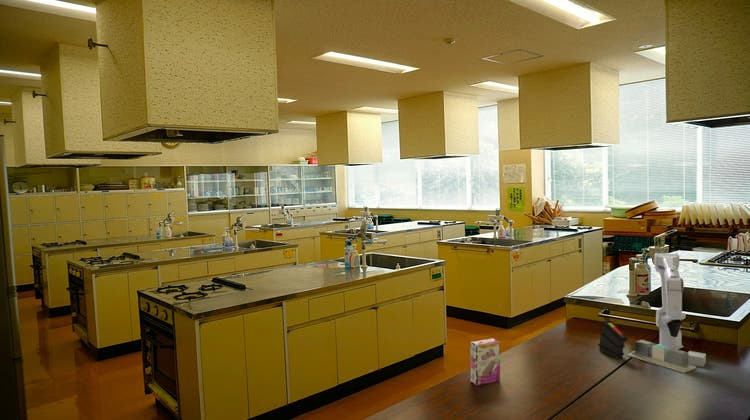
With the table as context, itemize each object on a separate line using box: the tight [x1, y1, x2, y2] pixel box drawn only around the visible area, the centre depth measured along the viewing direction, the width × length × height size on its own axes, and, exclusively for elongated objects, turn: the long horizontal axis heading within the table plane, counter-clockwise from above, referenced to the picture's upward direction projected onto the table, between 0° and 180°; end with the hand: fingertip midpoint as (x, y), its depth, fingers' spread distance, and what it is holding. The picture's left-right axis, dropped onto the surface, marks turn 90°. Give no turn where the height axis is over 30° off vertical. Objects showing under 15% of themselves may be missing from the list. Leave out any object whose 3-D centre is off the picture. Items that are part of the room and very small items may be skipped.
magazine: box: [597, 320, 629, 360], centre depth 217 cm, size 4×13×15 cm, turn 19°
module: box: [652, 343, 669, 361], centre depth 208 cm, size 4×5×5 cm
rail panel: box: [627, 339, 697, 374], centre depth 208 cm, size 9×24×7 cm, turn 30°
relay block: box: [688, 350, 707, 368], centre depth 205 cm, size 6×6×4 cm
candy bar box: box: [469, 338, 501, 387], centre depth 192 cm, size 11×5×16 cm, turn 111°
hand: (673, 336), depth 209 cm, fingers closed
